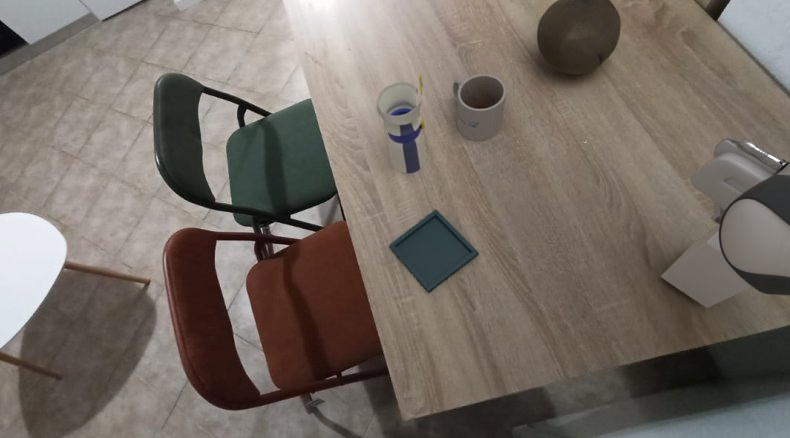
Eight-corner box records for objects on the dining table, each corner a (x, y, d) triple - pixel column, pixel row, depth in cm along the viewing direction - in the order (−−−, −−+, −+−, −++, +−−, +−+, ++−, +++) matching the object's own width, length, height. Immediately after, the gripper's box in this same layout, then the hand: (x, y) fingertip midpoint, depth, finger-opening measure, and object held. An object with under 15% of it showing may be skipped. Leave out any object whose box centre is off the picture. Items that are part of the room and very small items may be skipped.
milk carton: (689, 246, 71) (760, 191, 54) (737, 276, 67) (828, 227, 51) (659, 276, 70) (722, 230, 54) (706, 308, 66) (788, 269, 50)
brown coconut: (607, 36, 92) (632, -28, 79) (606, 90, 87) (633, 31, 74) (532, 38, 97) (545, -22, 84) (528, 89, 92) (540, 34, 79)
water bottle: (421, 134, 95) (412, 48, 73) (434, 166, 91) (428, 85, 69) (384, 147, 96) (364, 66, 74) (395, 179, 92) (378, 103, 70)
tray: (478, 255, 81) (478, 252, 79) (428, 293, 81) (428, 291, 79) (436, 212, 86) (436, 209, 85) (389, 247, 86) (388, 245, 85)
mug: (509, 129, 89) (515, 98, 81) (469, 147, 90) (470, 118, 81) (480, 88, 95) (482, 55, 86) (442, 105, 96) (441, 73, 87)
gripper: (709, 147, 49) (658, 202, 61) (935, 287, 39) (821, 320, 51) (752, 114, 49) (694, 175, 61) (989, 244, 39) (863, 287, 51)
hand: (753, 242), depth 56 cm, fingers closed on milk carton, 7 cm apart
